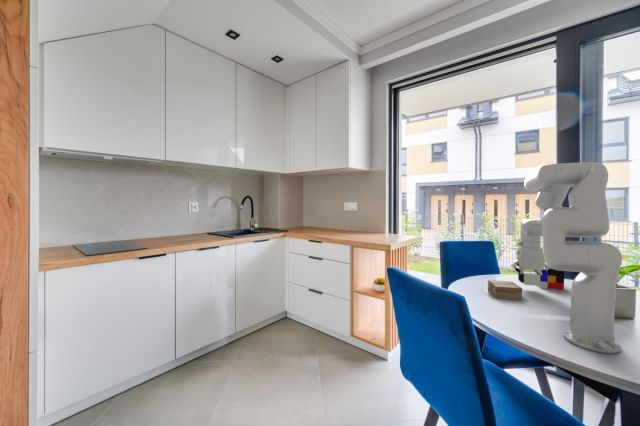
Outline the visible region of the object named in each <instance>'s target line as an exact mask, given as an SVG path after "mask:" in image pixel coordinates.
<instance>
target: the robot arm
mask: <svg viewBox="0 0 640 426" xmlns="http://www.w3.org/2000/svg"><path fill="white" fill-rule="evenodd" d="M608 182H609V171H608V168H607V167H606V165H604V164H603V163H600V162H596V161H595V162H594V161H593V162H592V161H591V162H584V161H583V162H582V161H581V162H567V163H549V164H548V163H547V164H546V163H545V164H541V165H539V166H537V167H535V168H533V169H532V170H530V171H529V172H528V173H527V175H526V177H525V179H524V183H523V185H524V189H525V191H526V192H528V193H537V196H536V198H535V205H536V207H537V208H538V209H540V210H542V211H544V214H543V215H542V218H538V219H537V218H523V219H521V220H520V236H519V237H520V240H519V241H518V242H516V244H517V245H518V246H519V247H518V248H517V253H516V260H515V261H514V262H512V263H511V264H510V266H511V268H512V269H514V270H515V271H516V273H518V277H517V278H518V281H519V282H520V283H521V282H522V283H521V284H523V282H524V274H523V272H525V270H531V269H535V270H536V273H537V274H539V275H540V281H541V275H543V273H544V272H546V271H547V270H548V269H549V267H550V268H551V269H554V270H559V271H564V272H573V273H575V272H576V273H577V272H578V274H577V275H575V277H574V279H573V280H572V283H571V287H570V288H571V291H570V317H569V318H570V319H569V321H570V322H569V329H566V330H564V331H563V334H562V335H563V337H564V338H565V340H566V341H568V342H570V343H571V344H573V345H576V346H578V347H580V348H583V349H586V350H589V351H593V352H598V353H603V354H618V353H620V352H621V350H622V346H621V344H619V343H618V342H617V341H616V337H615V336H614V332H615V331H614V330H615V312H616V311H615V309H616V293H617V291H616V290H617V282H618V277H619V274H620V269H621V266H622V264H623V263H622V262H623V255H622V252H621V250H620V249H619V248H618V247H616V246H615V245H613V244H611V243H608V242H604V241H602V242H601V241H586V240H585V241H584V240H577V241H576V240H566V237H567V238H600V237H604V236H606V235H608V233H609V231H610V220H609V219H610V217H609V211H608V202H607V196H606V190H607V185H608ZM567 195H568V198H567V199H568V207H567V206H566V207H564V206H563V203H564V201H565V199H566V197H567ZM541 237H542V244H543V248H541ZM547 265H548V266H547Z"/></svg>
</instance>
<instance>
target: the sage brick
mask: <svg viewBox="0 0 640 426" xmlns="http://www.w3.org/2000/svg"><path fill="white" fill-rule="evenodd" d="M523 274H524V282H523V283H522V282H520V283H521V284H523V285H525V286H535V287H538V286H540V275H539V274H537V273H535V272H531V271H524V272H523Z"/></svg>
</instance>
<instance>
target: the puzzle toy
mask: <svg viewBox="0 0 640 426" xmlns="http://www.w3.org/2000/svg"><path fill="white" fill-rule="evenodd" d="M546 265H547V264H546ZM547 266H548V265H547ZM530 270H531V271H530V272H535V273H536V270H535V269H530ZM537 288H539V289H551V290H562V291H564V290H565V271H559V270H554V269H551V268H550V267H549V269H548V270H547V271H546V272H544V273H543V275H541V281H540V286H537Z"/></svg>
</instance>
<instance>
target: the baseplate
mask: <svg viewBox="0 0 640 426" xmlns="http://www.w3.org/2000/svg"><path fill="white" fill-rule="evenodd" d="M482 291H483V292H485V293H486V294H487V295H488V296H489V297H490V299H492V300H504V301H515V302H525V303H527V302H530V301H529V300H528V299H527V298H525V297H524V296H522V300H521V299H508V298H496V297H495V296H494V295H492V294H491V293H490V292H489V291H488V288H482Z"/></svg>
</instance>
